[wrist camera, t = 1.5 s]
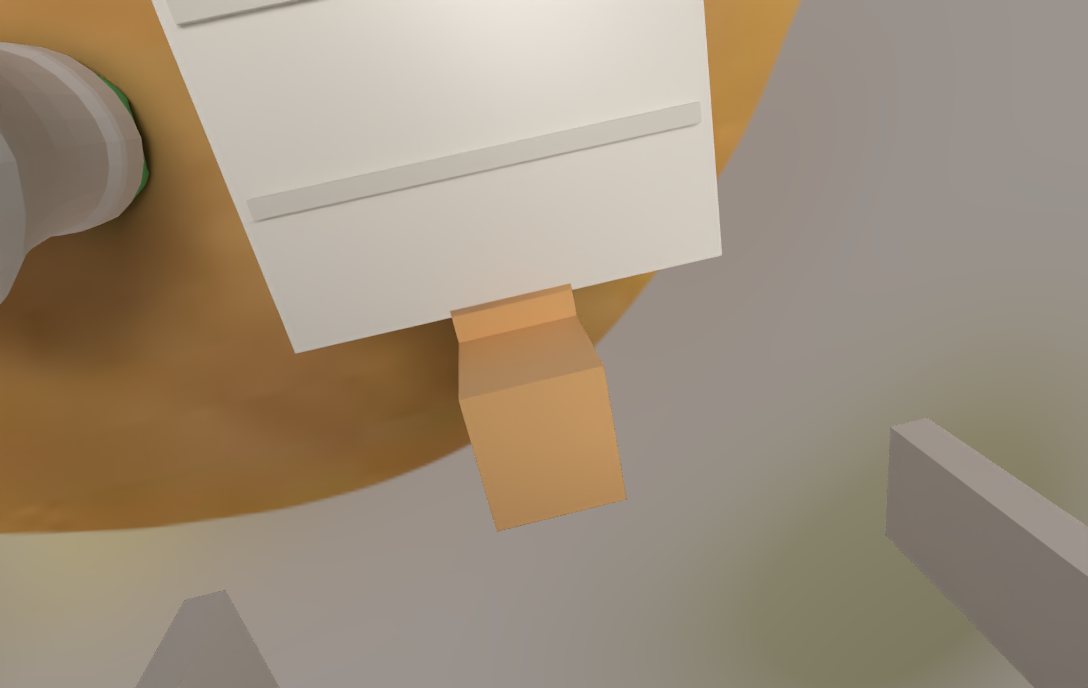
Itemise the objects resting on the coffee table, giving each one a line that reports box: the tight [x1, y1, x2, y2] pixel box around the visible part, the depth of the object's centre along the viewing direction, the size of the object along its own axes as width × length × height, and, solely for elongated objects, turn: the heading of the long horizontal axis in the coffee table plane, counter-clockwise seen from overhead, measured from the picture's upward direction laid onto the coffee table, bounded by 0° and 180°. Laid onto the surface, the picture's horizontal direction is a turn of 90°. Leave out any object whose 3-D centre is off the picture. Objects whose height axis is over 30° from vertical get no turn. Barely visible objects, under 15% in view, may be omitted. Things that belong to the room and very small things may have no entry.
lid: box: [151, 0, 722, 531], centre depth 15 cm, size 17×12×6 cm
